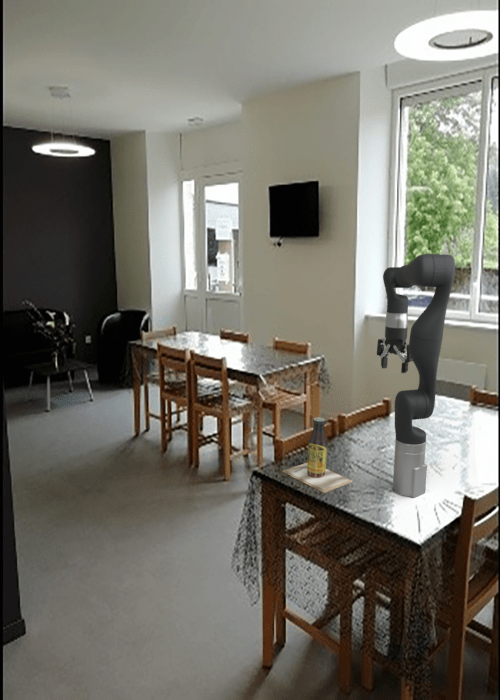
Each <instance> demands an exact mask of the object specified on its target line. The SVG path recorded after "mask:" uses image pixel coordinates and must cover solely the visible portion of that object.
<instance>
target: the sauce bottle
mask: <svg viewBox="0 0 500 700" xmlns="http://www.w3.org/2000/svg"><path fill="white" fill-rule="evenodd" d="M312 420H313V421H312V423H313V427H312V428H313V429H312V432H311V434H310V435H309V439H308V447H307V448H308V449H307V450H308V451H307V462H306V463H307V473H308V475H309V476H311V477H318V478H319V477H322V476H324V475H325V471H326V469H327V455H328V453H327V451H328V438H327V436H326V434H325V433H326V431H325V427H326V426H325V425H326V421H327V420H326V419H325V418H324V417H320V416H318V417H314V418H313V419H312Z"/></svg>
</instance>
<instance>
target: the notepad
mask: <svg viewBox="0 0 500 700" xmlns="http://www.w3.org/2000/svg"><path fill="white" fill-rule="evenodd" d="M282 473H284V474H286V475H288V476H289V475H290V477H291V478H293V479H295V480H297V481H300V482H302V483H304V484H306V485H307V486H310V487H311V488H313V489H315V490H317V491H319V492H321V493H323V494H325V493H328V492H331V491H333V490H336V489H338V488H341V487H343V486H345V485H348V484H350V483H353V480H351V479H350V478H347V477H345V476H343V475H341V474H338V473H336V472H334V471H332V470H330V469H328V468H326V471H325V475H324V476H322V477H319V478H318V477H311V476H309V475H308V473H307V462H304V463H302V464H299V465H295V466H292V467H290V468H288V469H283V470H282Z"/></svg>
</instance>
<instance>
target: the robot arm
mask: <svg viewBox="0 0 500 700" xmlns="http://www.w3.org/2000/svg"><path fill="white" fill-rule="evenodd" d="M455 274H456V261H455V258H454V256H453V255H451V254H444V253H443V254H442V253H441V254H440V253H439V254H437V253H423V254H420V255H418V256H416V257H414V259H412V261H411V262H409V263H408V264H404V265H402V266H399V267H398V266H397V267H394V266H393V267H392V266H390V267H387V268H386V269H385V270H384V271H383V275H382V279H383V281H382V282H383V285H384V288H385V293H386V316H385V327H384V338H379V339H377V345H376V346H377V347H376V355H377V356H378V357H380V358H381V359H380V366H381V369H387V368H388V362H389V361H388V357H389V355H390V354H391V355H392V354H394V355H397V356H398V358H400V360H401V371H400V373H401V374H406V373H407V372H408V371H409V363H410V362H413V364H414V366H415V369H416V370H417V372H418V377H419V379H418V381H419V382H418V388H417V389H406V390H400V391H398V392H397V394H396V395H395V398H394V431H395V441H394V455H393V456H394V458H393V473H392V475H393V476H392V479H393V480H392V490H393V491H394V493H396V494H398V495H401V496H405V497H411V498H414V499H415V498H416V497H419V496H420V495H423V494H425V493H426V487H427V486H426V485H427V470H428V465H427V464H426V463H425V462H426V461H425V458H426V444H427V443H426V442H427V433H426V431H425V430H424V429H422V428H421V427H420V428H419V427H417V426H414V425H413V421H414V420H424V419H425V420H426V419H429V418H430V417H432V415H433V413H434V410H435V404H436V403H435V402H436V387H437V386H436V385H437V374H438V368H439V367H438V366H439V358H440V354H441V349H442V344H443V343H442V342H443V338H444V337H443V335H444V328H445V321H446V313H447V308H448V305H449V300H450V296H451V292H452V287H453V284H454V279H455ZM413 286H418V287H419V286H420V287H426V288H427V287H429V288H431V287H432V288H435V291H434V294H433V297H432V298H431V301H430V303H429V304H428V305H427V307H426V308H425V309H424V310H423V312H421V314H420V315H419V316H418V317H417V319H416V320H415V321H414V323H413V324H412V326H411V329H410V332H409V341H408V344H407V339H408V330H409V329H408V327H409V314H408V313H409V312H408V311H409V297H408V296H407V295H405V294H400V293H397V292H396V290H395V289H409V288H412V287H413Z"/></svg>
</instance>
